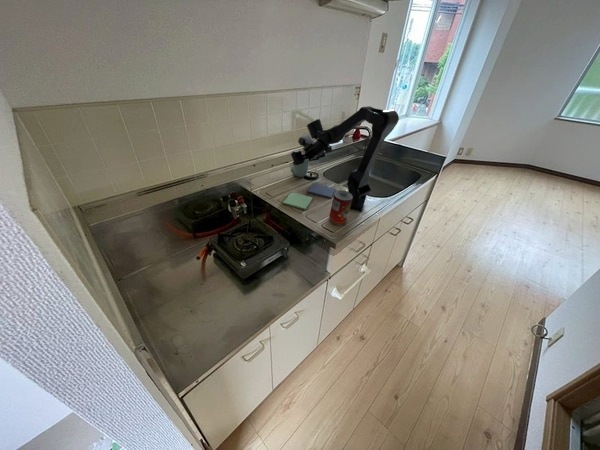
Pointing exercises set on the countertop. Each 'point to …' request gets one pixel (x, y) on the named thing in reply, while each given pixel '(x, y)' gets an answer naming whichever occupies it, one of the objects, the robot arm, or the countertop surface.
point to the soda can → (340, 207)
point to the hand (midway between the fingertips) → (299, 162)
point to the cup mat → (297, 200)
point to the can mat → (322, 190)
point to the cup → (301, 168)
